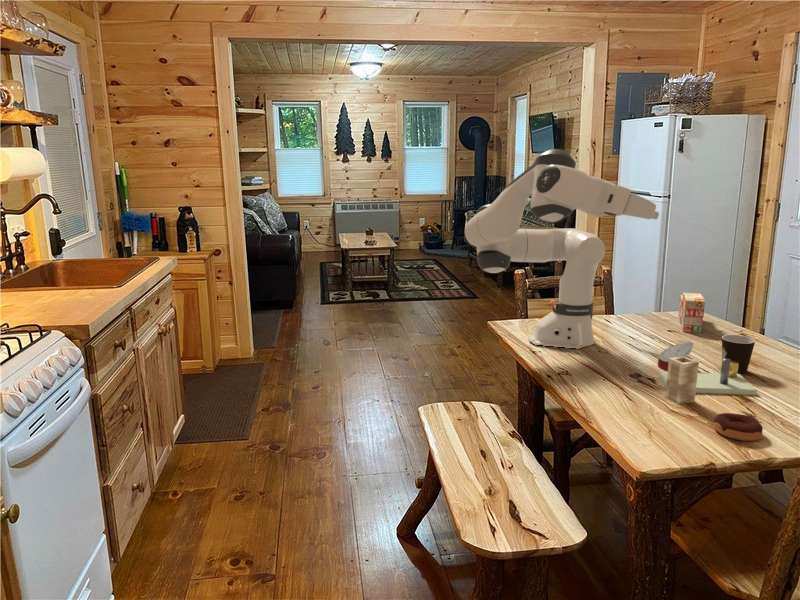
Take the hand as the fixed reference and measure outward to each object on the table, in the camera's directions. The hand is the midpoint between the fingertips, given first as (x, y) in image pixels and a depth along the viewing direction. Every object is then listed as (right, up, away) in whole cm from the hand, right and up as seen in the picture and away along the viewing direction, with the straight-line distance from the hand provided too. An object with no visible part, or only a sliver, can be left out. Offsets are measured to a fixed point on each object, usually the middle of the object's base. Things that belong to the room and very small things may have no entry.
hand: (643, 214), depth 148 cm
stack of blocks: (+48, -31, +75) cm, 95 cm away
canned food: (+23, -43, +31) cm, 58 cm away
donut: (+17, -53, -11) cm, 57 cm away
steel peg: (+28, -45, +14) cm, 55 cm away
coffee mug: (+39, -43, +29) cm, 65 cm away
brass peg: (+33, -43, +19) cm, 58 cm away
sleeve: (+13, -48, +8) cm, 50 cm away
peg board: (+24, -46, +17) cm, 55 cm away
